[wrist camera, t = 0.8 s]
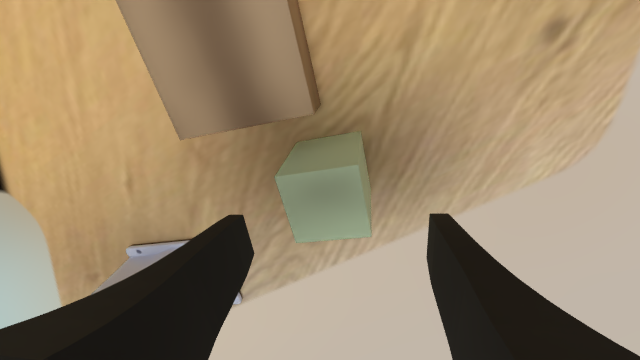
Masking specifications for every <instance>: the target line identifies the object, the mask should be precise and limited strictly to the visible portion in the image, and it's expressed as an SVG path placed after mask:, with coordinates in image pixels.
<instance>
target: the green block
mask: <svg viewBox="0 0 640 360" xmlns="http://www.w3.org/2000/svg"><path fill="white" fill-rule="evenodd" d="M274 178H275V181H276V184H277V187H278V190H279V193H280V196H281V199H282V202H283V205H284V208H285V211H286V214H287V217H288V220H289V223H290V226H291V229H292V232H293V235H294V238H295V241H296V243H304V242H316V241H328V240H340V239H351V238H363V237H371V188H370V182H369V176H368V170H367V164H366V158H365V153H364V147H363V141H362V135H361V131H358V132H352V133H346V134H340V135H335V136H329V137H323V138H317V139H311V140H306V141H300V142H297V143H296V144H295V146H294V147H293V149H292V150H291V152H290V153H289V155H288V157H287V158H286V160H285V161H284V163H283V164H282V166H281V167H280V169H279V171H278V172H277V174H276V175H275V177H274Z"/></svg>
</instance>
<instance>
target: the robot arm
mask: <svg viewBox="0 0 640 360" xmlns="http://www.w3.org/2000/svg"><path fill="white" fill-rule="evenodd" d="M126 253H127V254H128V256H129V257H130V258H129V259H128V260H127V261H126V262H125V263H123V264H122V265H121V266H120V267H119V268H118V269H117V270H116V271H115V272H114V273H113V274H112V275H111V276H110V277H109V278H108V279H107V280H106V281H105V282H103V283H102V284H101V285H100V286H99V287H98V288H97V289H96V290H95V291H94V292H93V293H92V294H91V295H90V296H87V297H85V298H83V299H80V300H78V301H76V302H73V303H71V304H68V305H66V306H63V307H61V308H58V309H56V310H53V311H51V312H48V313H45V314H43V315H40V316H37V317H34V318H32V319H28V320H26V321H23V322H20V323H17V324H14V325H11V326H8V327H5V328H2V329H0V360H208V358H209V356H210V353H211V351H212V348H213V346H214V343H215V340H216V338H217V336H218V334H219V331H220V329H221V327H222V325H223V323H224V321H225V319H226V317H227V315H228V313H229V311H230V309H231V307H232V305H233V304H240V303H241V301H242V297H241V295H240V293H239V291H240V289H241V287H242V285H243V283H244V281H245V279H246V277H247V274H248V271H249V268H250V266H251V262H252V259H253V256H254V250H253V247H252V244H251V240H250V237H249V233H248V230H247V227H246V223H245V220H244V217H243V215H228V216H226V217H225V218H223V219H221V220H220V221H218V222H217V223H215V224H214V225H212V226H211V227H209V228H208V229H206V230H205V231H203V232H202V233H200V234H199V235H197V236H196V237H194V238H193V239H191V240H188V241H178V242H168V243H157V244H147V245H136V246H129V247H128V248H127V249H126ZM427 262H428V269H429V274H430V280H431V285H432V289H433V292H434V295H435V299H436V302H437V306H438V309H439V313H440V316H441V319H442V323H443V326H444V330H445V333H446V336H447V340H448V343H449V347H450V351H451V354H452V358H453V360H640V356H638V355H637V354H635V353H633V352H631V351H629V350H627V349H626V348H624V347H622V346H620V345H619V344H617V343H615V342H613V341H612V340H610V339H608V338H607V337H605V336H603V335H602V334H600V333H598V332H597V331H595V330H593V329H592V328H590V327H588V326H587V325H585V324H584V323H582V322H581V321H579V320H577V319H576V318H574V317H573V316H571V315H570V314H568V313H566V312H565V311H563V310H562V309H560V308H559V307H557V306H556V305H554V304H553V303H551V302H550V301H548V300H547V299H546V298H544V297H543V296H541V295H540V294H539V293H537V292H536V291H534V290H533V289H532V288H530V287H529V286H528V285H526V284H525V283H524V282H522V281H521V280H520V279H518V278H517V277H516V276H515V275H513V274H512V273H511V272H510V271H508V270H507V269H506V268H505V267H504V266H502V265H501V264H500V263H499V262H497V260H495V259H494V258H493V257H492V256H491V255H490V254H489V253H488V252H486V251H485V250H484V249H483V248H482V247H481V246H480V245H479V244H478V243H477V242H476V241H475V240H474V239H473V238H472V237H471V236H470V235H469V234H468V233H467V232H466V231H465V230H464V229H463V228H462V227H461V226H460V225H459V224H458V223H457V222H456V221H455V220H454V219H453V218H452V217H451V216H450V215H449V214H430V217H429V232H428V246H427Z"/></svg>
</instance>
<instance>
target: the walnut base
mask: <svg viewBox="0 0 640 360" xmlns="http://www.w3.org/2000/svg"><path fill="white" fill-rule="evenodd" d="M116 2H117V4H118V6H119V8H120V11H121V13H122V15H123V17H124V19H125V22H126V24H127V26H128V28H129V30H130V32H131V35H132V37H133V39H134V41H135V43H136V45H137V48H138V50H139V52H140V54H141V56H142V58H143V61H144V63H145V65H146V67H147V69H148V71H149V74H150V76H151V78H152V80H153V82H154V85H155V87H156V89H157V91H158V93H159V95H160V98H161V100H162V102H163V104H164V106H165V108H166V111H167V113H168V115H169V117H170V119H171V121H172V124H173V126H174V128H175V130H176V132H177V134H178V137H179V139H180V140H184V139H189V138H194V137H199V136H204V135H209V134H215V133H220V132H225V131H230V130H235V129H240V128H245V127H251V126H256V125H261V124H266V123H271V122H276V121H281V120H287V119H292V118H297V117H302V116H307V115H312V114H314V113H315V112H316V110H317V109H318V107H319V106H320V104H321V103H320V99H319V94H318V90H317V85H316V81H315V76H314V72H313V67H312V63H311V58H310V54H309V49H308V45H307V40H306V36H305V32H304V27H303V23H302V18H301V14H300V9H299V5H298V0H116Z"/></svg>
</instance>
